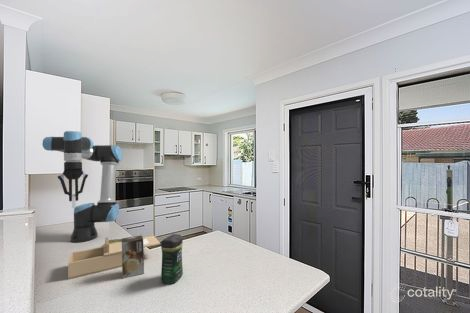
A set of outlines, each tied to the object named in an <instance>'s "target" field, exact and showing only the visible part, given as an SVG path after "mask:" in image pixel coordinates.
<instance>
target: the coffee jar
mask: <svg viewBox="0 0 470 313" xmlns="http://www.w3.org/2000/svg"><path fill="white" fill-rule="evenodd" d="M160 246H161V247H160V248H161V271H160V273H161V274H160V280H161V282H162V283H164V284H174V283H176V282H177V281H179V280H180V279H181V278H182V276H183V275H184V272H183V269H184V268H183V236H182V235H181V234H177V233H172V234H170V235H169V236H167V237H165V238H164V239H162V240H161V242H160Z"/></svg>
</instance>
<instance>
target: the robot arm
mask: <svg viewBox="0 0 470 313" xmlns="http://www.w3.org/2000/svg"><path fill="white" fill-rule="evenodd" d="M93 141H94V140H92V139H91V138H90V137H87V136H83V135H82V132H80V131H74V130H68V131H67V130H65V131H64V132H63V136H46V137H44V138H43V140H42V144H41V145H42V148H43V149H44V150H45V151H51V152H56V151H57V152H60V153H63V161H65V162H64V163H63V172H62V173H61V174H60V175H58V176H57V179H58V180H59V181H60V184H61V188H62V190H63V192H64V195H68V199H69V200H68V201H69V202H71V208H72V209H73V230H72V233H71V236H70V242H71V243H83V242H89V241H92V240H94V239H97V238H98V232H97V231H98V230H97V228H96V226H95V225H96V224H95V223H109V222H115V221H116V220H117V218H118V216H119V213H120V205H119V204H118V203H117V200H115V190H116V175H117V173H116V172H117V166H119V164H120V162H122V159H123V152H122V149H121V147H120V146H119V145H113V144H110V145H109V144H107V145H106V144H105V145H98V144H97V145H94V142H93ZM83 160H87V161H92V162H100V163H99V164H100V165H101V166H102V167H101V182H100V185H101V186H100V197H99V200H98V201H97V203H96V204H95V202H88V203H84V204H80V205H76V204H77V202H78V201H79V195H80V194H82V193H83V191H84V187H85V184H86V180H87V178H88V177H89V174H87V173H85V172H84V171H83V162H82V161H83ZM81 177H82V181H81V184H80V185H81V186H80V189H79V179H80V178H81ZM65 178H66V179H67V180H68V188H67V186H66V182H65V180H64V179H65ZM73 180H74V187H75V188H74V191H75V192H74V193H73Z"/></svg>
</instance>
